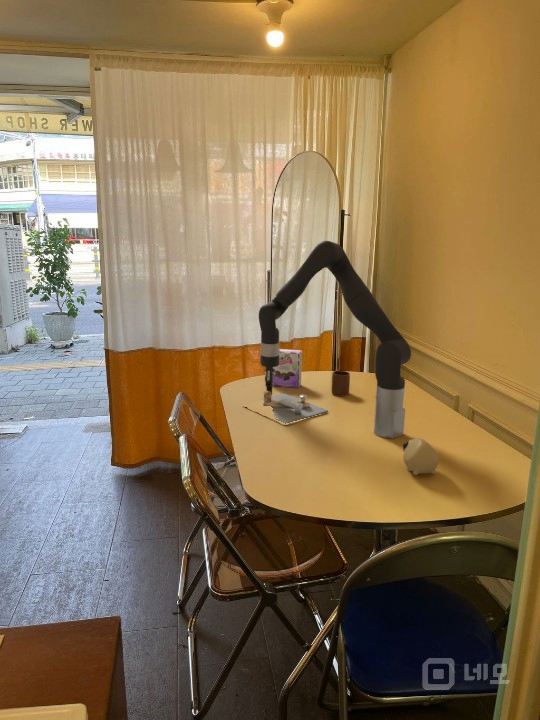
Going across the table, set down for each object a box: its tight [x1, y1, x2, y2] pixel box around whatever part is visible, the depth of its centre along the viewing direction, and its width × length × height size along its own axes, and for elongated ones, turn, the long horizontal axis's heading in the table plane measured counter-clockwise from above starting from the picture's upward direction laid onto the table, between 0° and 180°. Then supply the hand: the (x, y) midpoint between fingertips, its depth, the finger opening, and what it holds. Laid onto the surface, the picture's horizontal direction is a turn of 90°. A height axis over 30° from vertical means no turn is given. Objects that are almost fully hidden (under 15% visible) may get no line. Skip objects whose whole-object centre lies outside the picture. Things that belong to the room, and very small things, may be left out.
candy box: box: [273, 348, 303, 389], centre depth 226 cm, size 14×6×16 cm, turn 73°
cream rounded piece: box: [402, 437, 440, 476], centre depth 146 cm, size 10×12×11 cm
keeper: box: [281, 394, 308, 415], centre depth 194 cm, size 10×10×4 cm
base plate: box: [260, 393, 329, 424], centre depth 197 cm, size 26×22×1 cm
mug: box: [331, 369, 351, 397], centre depth 218 cm, size 12×8×9 cm, turn 6°
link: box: [263, 390, 310, 408], centre depth 198 cm, size 18×5×6 cm, turn 85°
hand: (269, 395), depth 202 cm, fingers closed
